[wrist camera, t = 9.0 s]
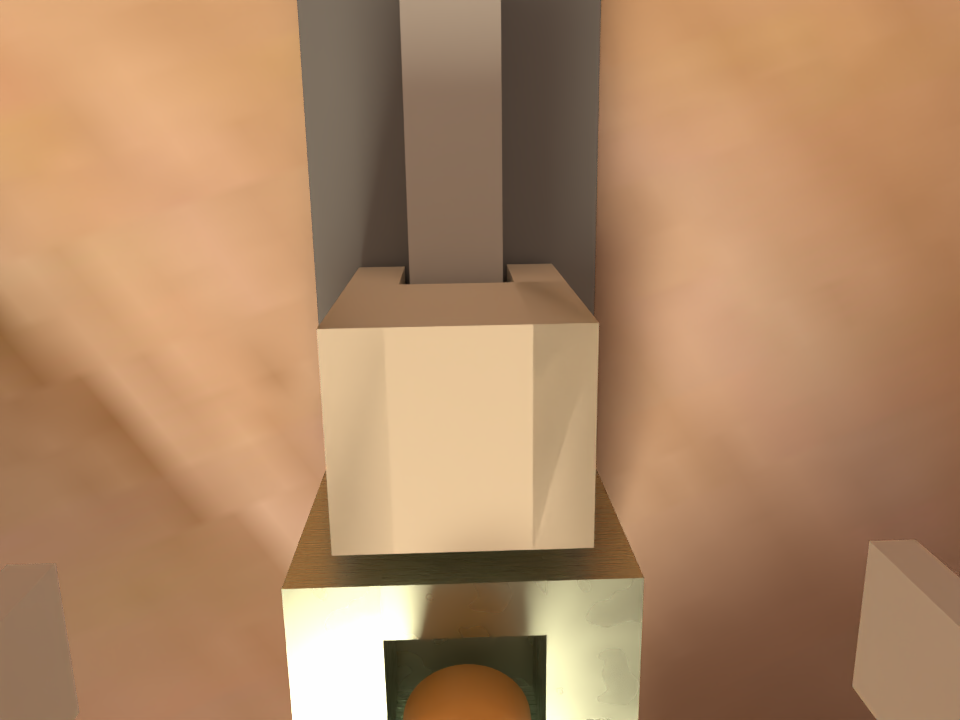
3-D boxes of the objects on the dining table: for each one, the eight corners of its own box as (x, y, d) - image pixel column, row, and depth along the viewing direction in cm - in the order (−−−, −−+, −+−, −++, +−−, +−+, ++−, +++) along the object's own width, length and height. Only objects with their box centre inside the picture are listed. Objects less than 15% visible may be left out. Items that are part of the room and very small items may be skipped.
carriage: (551, 263, 29) (599, 322, 20) (550, 423, 31) (593, 547, 22) (359, 267, 29) (316, 329, 20) (367, 428, 31) (331, 555, 21)
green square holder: (586, 447, 33) (644, 577, 23) (583, 627, 35) (634, 814, 25) (331, 454, 32) (281, 589, 23) (343, 634, 35) (302, 828, 25)
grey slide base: (597, -87, 28) (628, -133, 23) (586, 447, 33) (610, 501, 28) (296, -84, 27) (263, -131, 23) (331, 454, 32) (311, 509, 28)
